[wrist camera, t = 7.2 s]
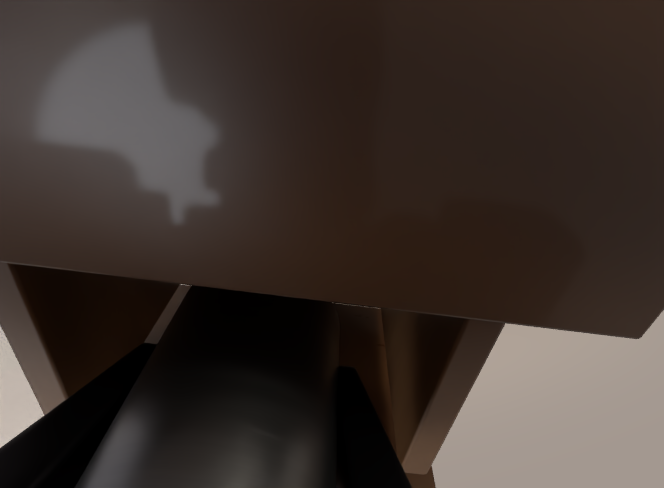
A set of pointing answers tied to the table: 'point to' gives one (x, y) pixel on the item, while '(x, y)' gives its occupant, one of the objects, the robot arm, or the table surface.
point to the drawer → (162, 303)
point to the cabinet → (346, 151)
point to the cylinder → (230, 399)
